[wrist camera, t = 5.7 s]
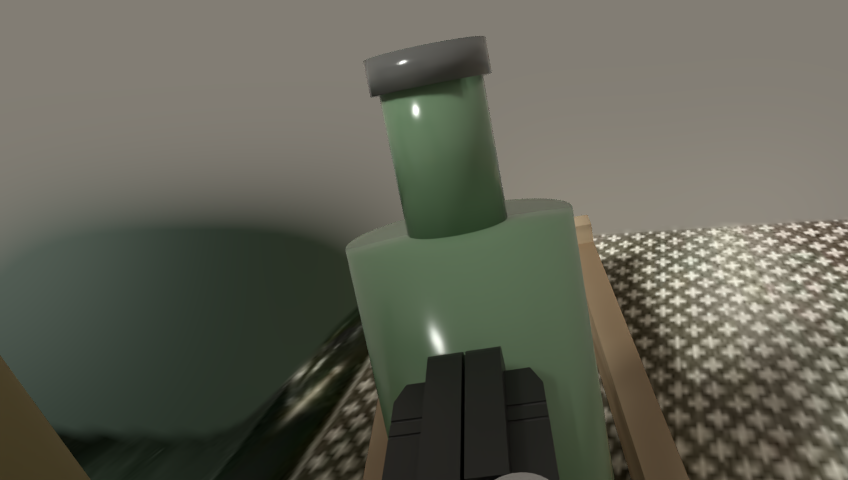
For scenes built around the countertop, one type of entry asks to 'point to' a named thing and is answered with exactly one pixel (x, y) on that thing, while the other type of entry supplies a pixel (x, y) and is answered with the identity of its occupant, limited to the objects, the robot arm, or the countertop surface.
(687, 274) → the countertop surface
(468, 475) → the robot arm
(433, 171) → the bottle
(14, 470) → the squeeze bottle
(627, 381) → the u rest
